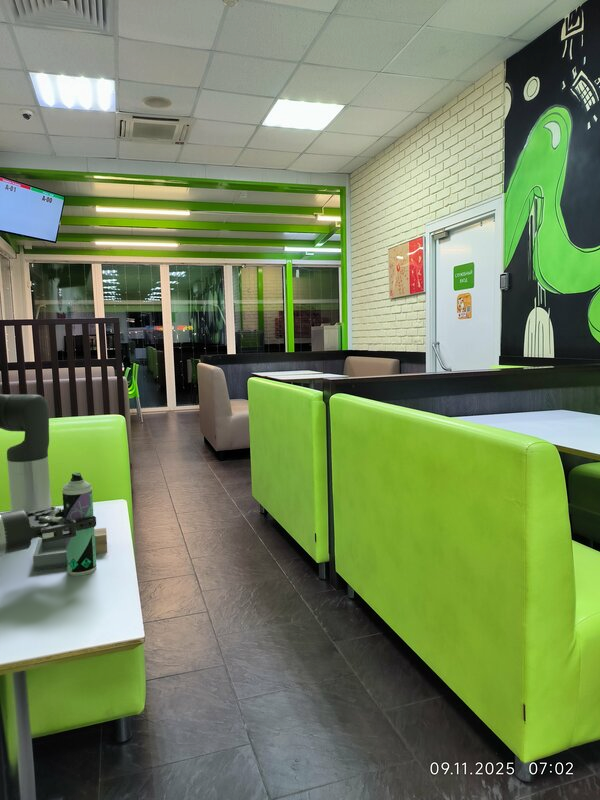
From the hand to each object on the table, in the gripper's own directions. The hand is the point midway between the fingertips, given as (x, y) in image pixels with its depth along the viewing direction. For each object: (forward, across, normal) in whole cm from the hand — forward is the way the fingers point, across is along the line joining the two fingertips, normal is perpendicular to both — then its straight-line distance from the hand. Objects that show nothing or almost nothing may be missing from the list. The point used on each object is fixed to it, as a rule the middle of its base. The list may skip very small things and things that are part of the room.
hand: (88, 515), depth 112 cm
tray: (-3, +9, +11) cm, 15 cm away
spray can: (-2, 0, +11) cm, 11 cm away
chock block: (+5, +9, +11) cm, 15 cm away
